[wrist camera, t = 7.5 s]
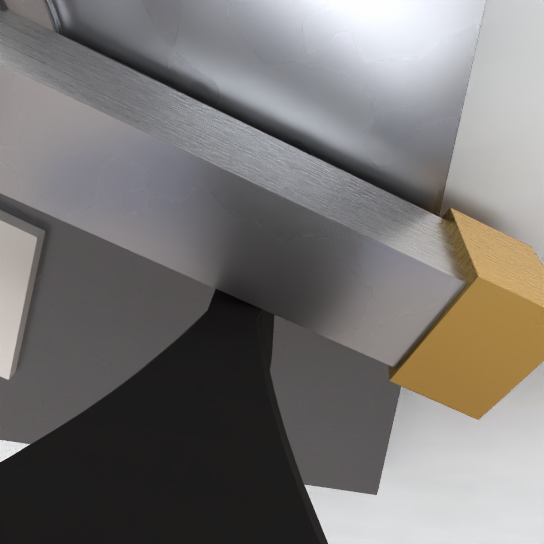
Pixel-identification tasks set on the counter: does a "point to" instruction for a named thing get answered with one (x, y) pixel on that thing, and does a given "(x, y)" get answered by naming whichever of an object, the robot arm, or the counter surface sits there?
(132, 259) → the tray
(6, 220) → the label plate
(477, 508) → the counter surface
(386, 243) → the swing arm
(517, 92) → the counter surface
